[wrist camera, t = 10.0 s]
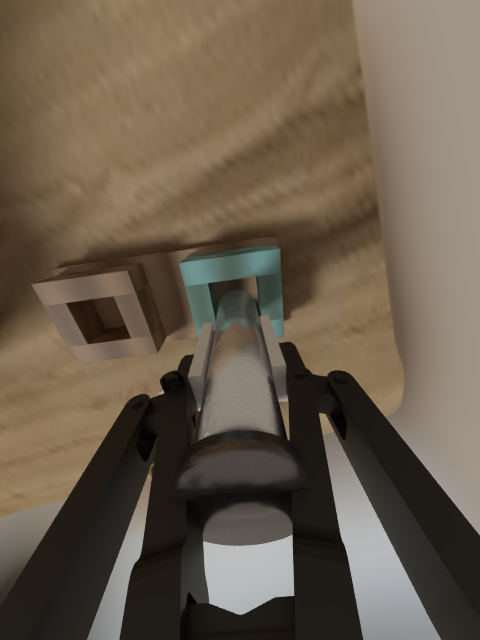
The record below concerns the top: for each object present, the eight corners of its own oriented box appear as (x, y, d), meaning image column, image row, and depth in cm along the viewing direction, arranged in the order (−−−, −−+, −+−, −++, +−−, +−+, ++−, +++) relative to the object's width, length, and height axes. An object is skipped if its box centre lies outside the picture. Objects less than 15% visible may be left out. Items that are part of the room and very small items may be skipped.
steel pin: (218, 329, 24) (187, 550, 8) (210, 288, 22) (145, 478, 6) (261, 323, 24) (316, 538, 8) (257, 281, 22) (321, 460, 6)
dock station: (97, 346, 32) (74, 368, 27) (57, 267, 27) (20, 278, 22) (282, 322, 31) (290, 341, 26) (277, 235, 26) (287, 239, 21)
